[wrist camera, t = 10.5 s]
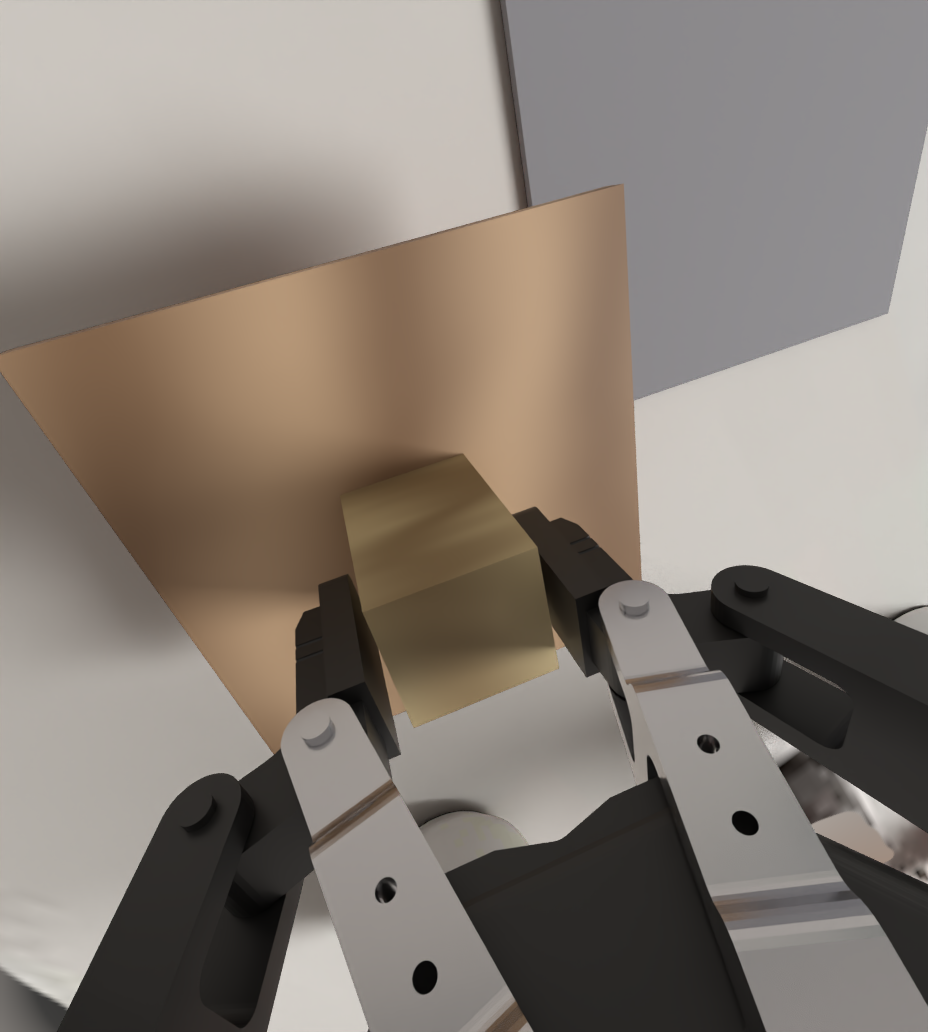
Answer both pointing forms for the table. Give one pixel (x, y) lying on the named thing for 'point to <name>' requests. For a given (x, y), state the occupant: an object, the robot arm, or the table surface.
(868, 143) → the mat
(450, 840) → the teacup
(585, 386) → the lid
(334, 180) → the table surface
